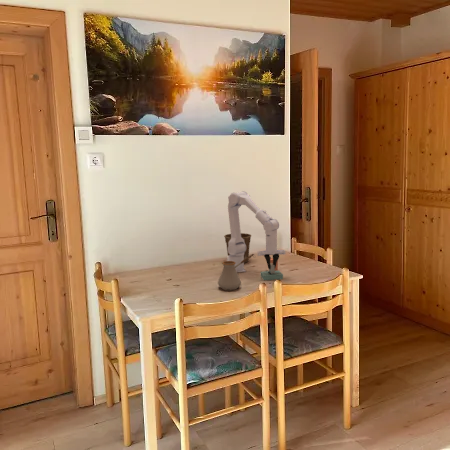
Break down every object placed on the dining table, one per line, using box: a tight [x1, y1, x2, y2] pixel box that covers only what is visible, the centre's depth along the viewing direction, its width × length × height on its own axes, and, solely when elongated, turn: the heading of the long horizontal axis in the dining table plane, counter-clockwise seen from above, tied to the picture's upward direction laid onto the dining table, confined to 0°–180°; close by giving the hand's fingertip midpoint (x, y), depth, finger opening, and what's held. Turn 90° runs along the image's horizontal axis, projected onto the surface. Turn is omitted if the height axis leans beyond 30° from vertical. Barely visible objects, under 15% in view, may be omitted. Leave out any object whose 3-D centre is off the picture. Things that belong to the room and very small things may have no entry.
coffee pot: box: [217, 253, 255, 291], centre depth 228 cm, size 21×12×15 cm, turn 124°
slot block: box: [260, 270, 284, 281], centre depth 243 cm, size 10×8×2 cm
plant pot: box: [223, 232, 252, 264], centre depth 277 cm, size 16×16×16 cm
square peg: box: [270, 257, 279, 271], centre depth 255 cm, size 4×4×7 cm
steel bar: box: [268, 263, 275, 275], centre depth 242 cm, size 2×4×7 cm, turn 9°
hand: (271, 268), depth 242 cm, fingers closed on steel bar, 2 cm apart
